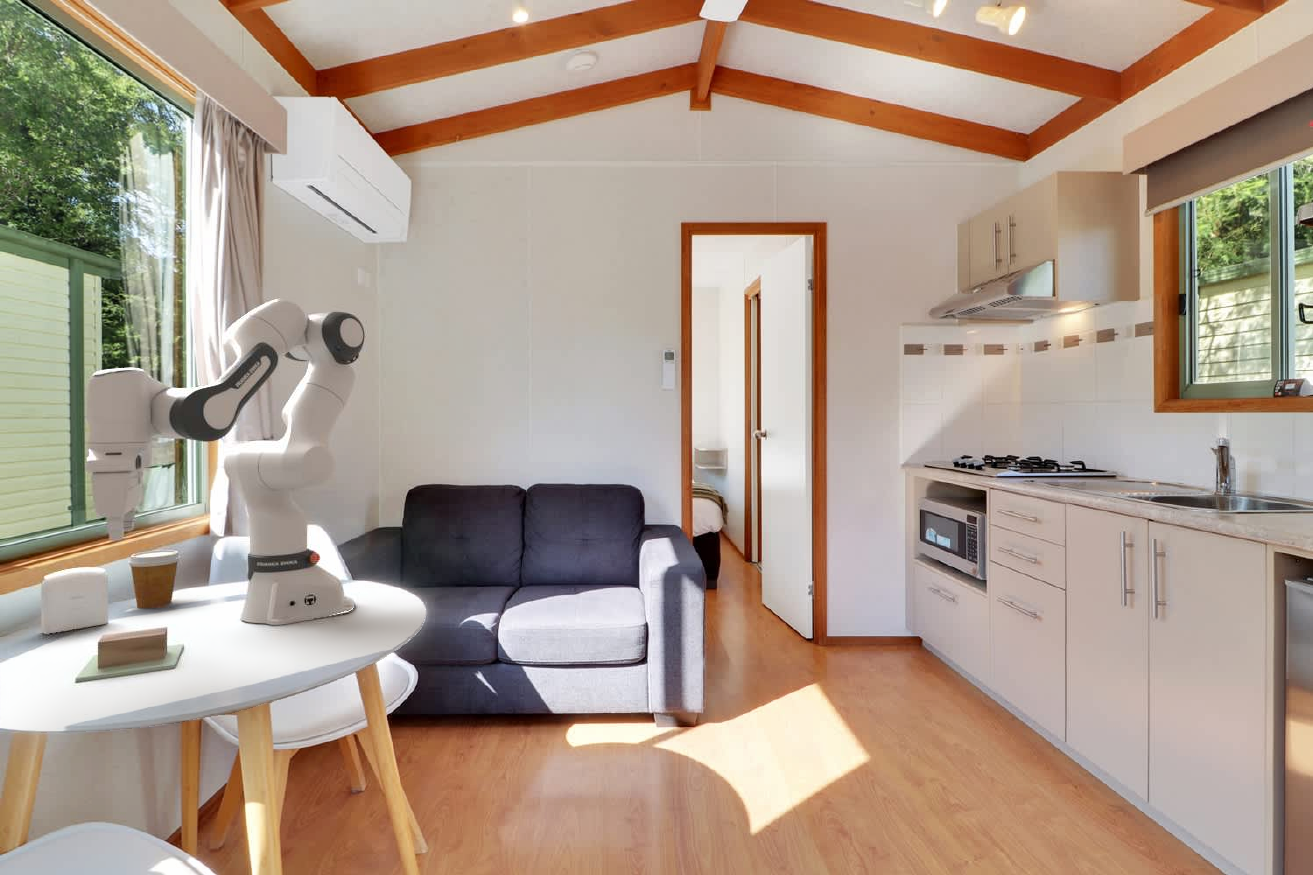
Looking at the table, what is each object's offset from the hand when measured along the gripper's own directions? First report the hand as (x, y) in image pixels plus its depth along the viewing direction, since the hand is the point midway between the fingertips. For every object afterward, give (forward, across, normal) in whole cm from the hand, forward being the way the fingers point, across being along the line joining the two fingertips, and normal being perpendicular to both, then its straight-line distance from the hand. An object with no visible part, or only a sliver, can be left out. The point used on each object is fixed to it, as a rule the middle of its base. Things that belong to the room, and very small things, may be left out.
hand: (122, 535), depth 113 cm
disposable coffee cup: (+23, -40, 0) cm, 47 cm away
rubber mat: (+22, +4, +2) cm, 23 cm away
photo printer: (+23, -26, -12) cm, 37 cm away
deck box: (+22, +4, +2) cm, 22 cm away
